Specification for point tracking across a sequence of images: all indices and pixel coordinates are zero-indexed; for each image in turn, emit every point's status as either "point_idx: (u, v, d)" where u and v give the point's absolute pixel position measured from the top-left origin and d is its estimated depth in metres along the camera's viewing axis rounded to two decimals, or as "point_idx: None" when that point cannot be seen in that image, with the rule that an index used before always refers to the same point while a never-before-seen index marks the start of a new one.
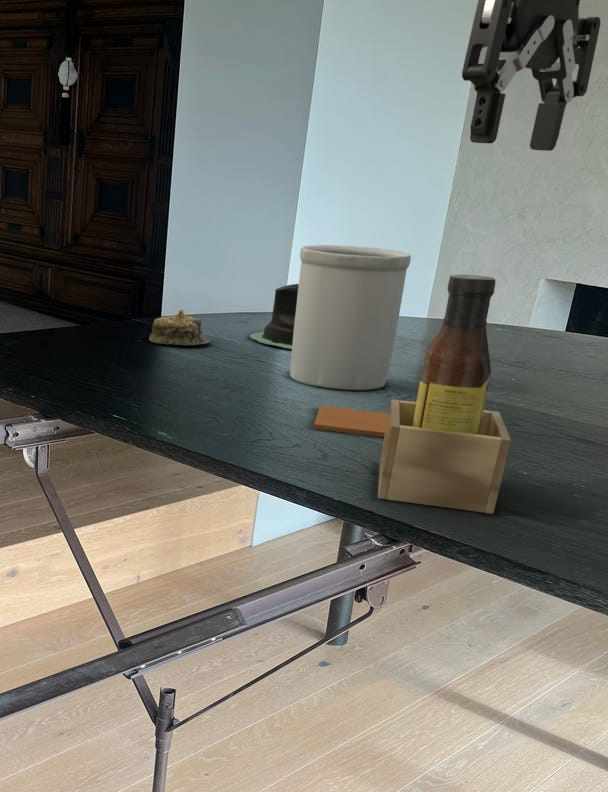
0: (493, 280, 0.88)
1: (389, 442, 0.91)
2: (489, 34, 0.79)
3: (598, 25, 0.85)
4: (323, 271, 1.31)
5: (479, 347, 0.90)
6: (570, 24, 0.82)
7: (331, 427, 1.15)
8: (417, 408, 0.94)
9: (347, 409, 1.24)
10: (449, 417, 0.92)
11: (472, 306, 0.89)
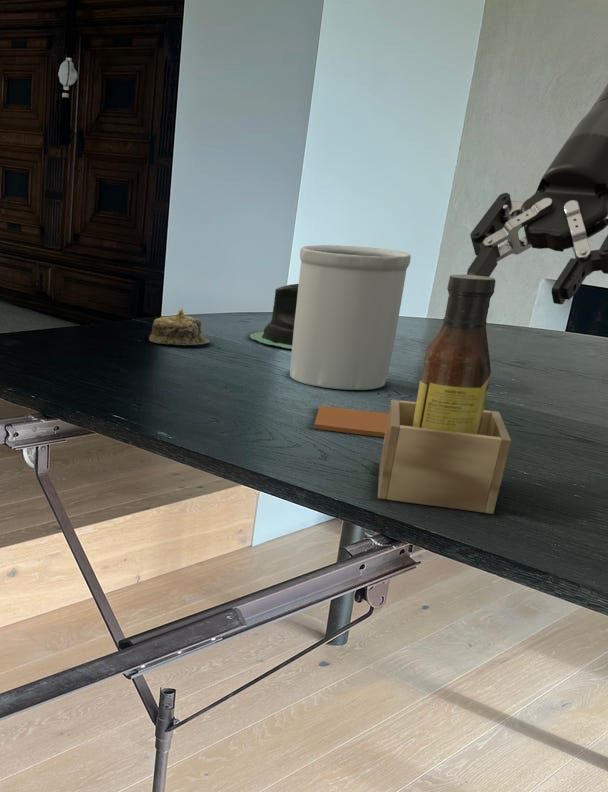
0: (493, 280, 0.88)
1: (389, 442, 0.91)
2: None
3: None
4: (323, 271, 1.31)
5: (479, 347, 0.90)
6: (575, 202, 0.93)
7: (331, 427, 1.15)
8: (417, 408, 0.94)
9: (347, 409, 1.24)
10: (449, 417, 0.92)
11: (472, 306, 0.89)
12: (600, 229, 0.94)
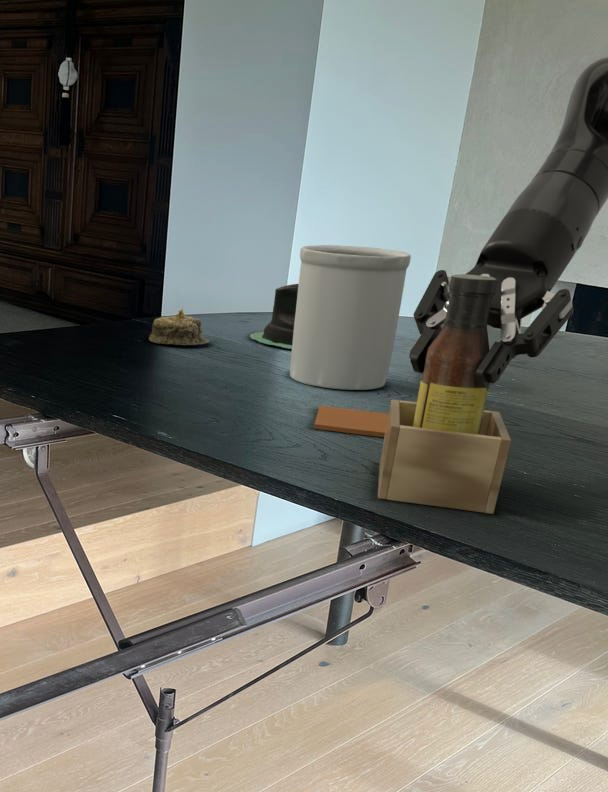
0: (494, 280, 0.88)
1: (389, 442, 0.91)
2: None
3: (563, 293, 0.88)
4: (323, 271, 1.31)
5: (480, 347, 0.90)
6: (512, 280, 0.91)
7: (331, 427, 1.15)
8: (417, 407, 0.94)
9: (347, 409, 1.24)
10: (449, 418, 0.92)
11: (473, 306, 0.89)
12: (538, 307, 0.91)
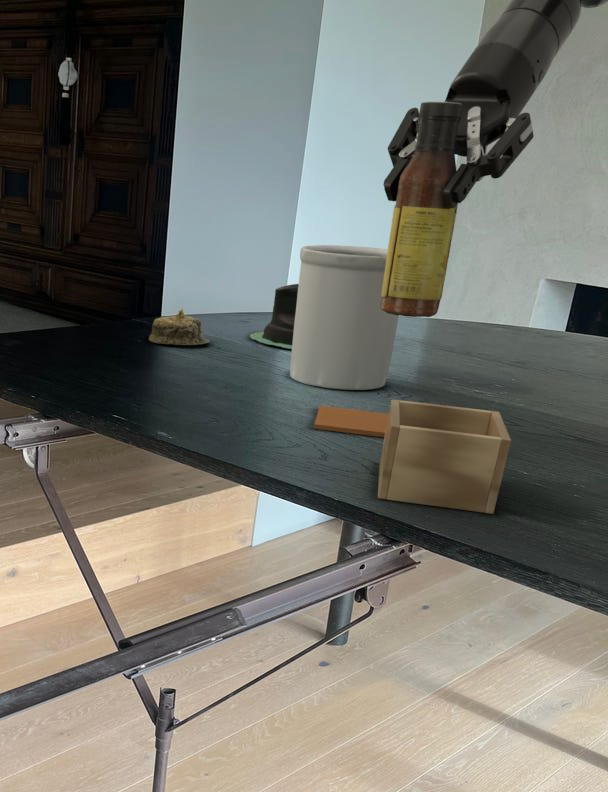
0: (460, 104, 0.96)
1: (389, 442, 0.91)
2: None
3: (524, 116, 0.95)
4: (323, 271, 1.31)
5: (448, 169, 0.97)
6: (478, 109, 0.98)
7: (331, 427, 1.15)
8: (391, 233, 1.02)
9: (347, 409, 1.24)
10: (420, 238, 0.99)
11: (440, 130, 0.96)
12: (502, 134, 0.98)
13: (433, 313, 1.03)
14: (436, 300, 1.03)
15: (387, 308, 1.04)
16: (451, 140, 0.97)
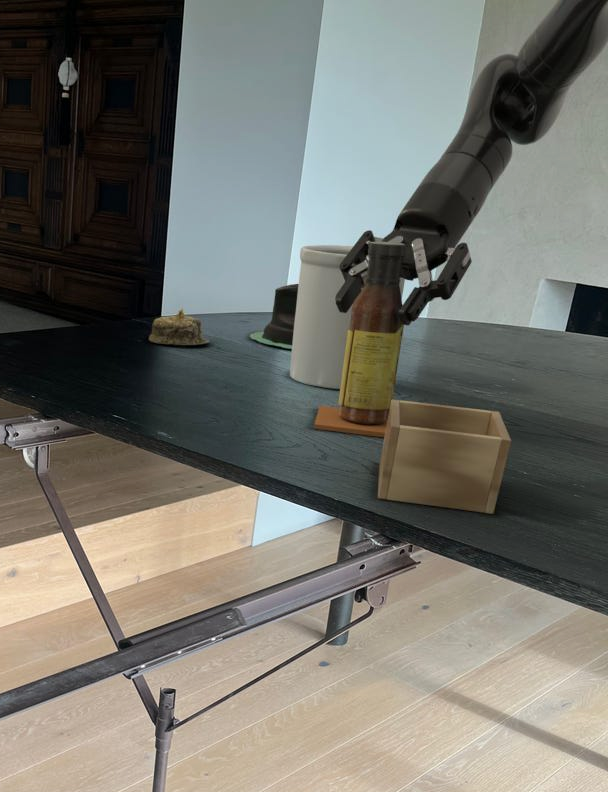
0: (403, 245, 1.10)
1: (389, 442, 0.91)
2: None
3: (462, 246, 1.09)
4: (323, 271, 1.31)
5: (393, 300, 1.11)
6: (420, 240, 1.12)
7: (331, 427, 1.15)
8: (346, 351, 1.16)
9: None
10: (370, 358, 1.13)
11: (386, 266, 1.10)
12: (442, 262, 1.12)
13: (383, 420, 1.17)
14: (386, 409, 1.17)
15: (343, 415, 1.17)
16: (396, 275, 1.11)
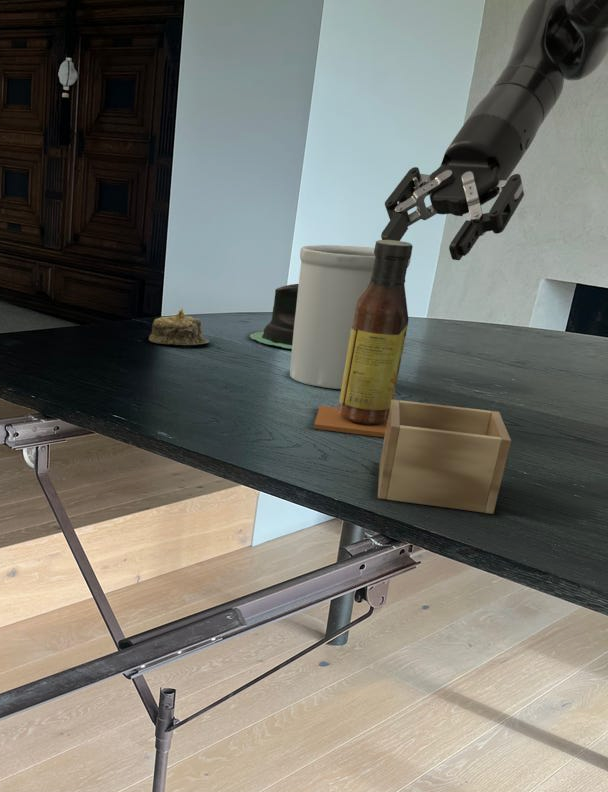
0: (410, 246, 1.08)
1: (389, 442, 0.91)
2: None
3: (515, 177, 1.05)
4: (323, 271, 1.31)
5: (398, 301, 1.10)
6: (470, 173, 1.08)
7: (331, 427, 1.15)
8: (348, 350, 1.15)
9: None
10: (372, 359, 1.13)
11: (392, 267, 1.09)
12: (493, 196, 1.08)
13: (384, 420, 1.17)
14: (387, 409, 1.16)
15: (343, 414, 1.17)
16: (401, 276, 1.10)
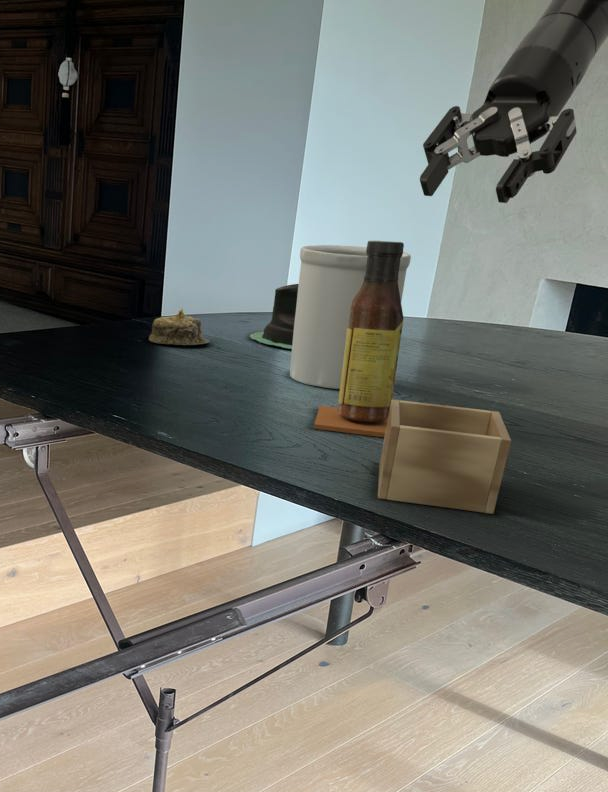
0: (401, 243, 1.10)
1: (389, 442, 0.91)
2: None
3: (568, 112, 0.97)
4: (323, 271, 1.31)
5: (392, 297, 1.12)
6: (518, 109, 1.00)
7: (331, 427, 1.15)
8: (345, 349, 1.16)
9: None
10: (370, 355, 1.13)
11: (385, 264, 1.11)
12: (542, 134, 1.00)
13: (384, 418, 1.17)
14: (386, 407, 1.17)
15: (343, 414, 1.17)
16: (394, 273, 1.11)
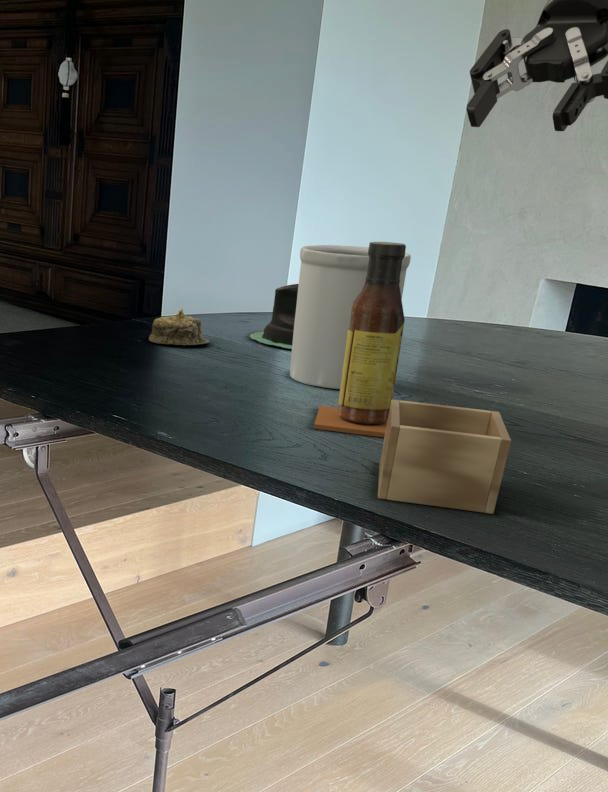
0: (403, 245, 1.10)
1: (389, 442, 0.91)
2: None
3: None
4: (323, 271, 1.31)
5: (393, 300, 1.11)
6: (576, 29, 0.91)
7: (331, 427, 1.15)
8: (345, 351, 1.16)
9: None
10: (370, 358, 1.13)
11: (386, 267, 1.10)
12: (602, 57, 0.92)
13: (383, 420, 1.17)
14: (386, 409, 1.17)
15: (343, 415, 1.17)
16: (396, 275, 1.11)
